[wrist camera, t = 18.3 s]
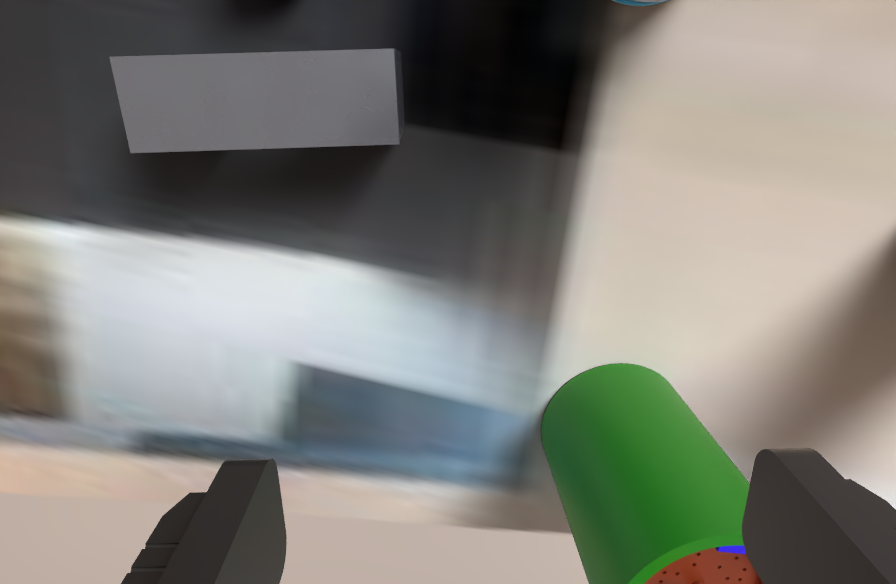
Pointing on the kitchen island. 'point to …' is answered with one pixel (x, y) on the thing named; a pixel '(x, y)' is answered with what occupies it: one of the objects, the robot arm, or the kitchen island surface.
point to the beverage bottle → (639, 2)
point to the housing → (261, 100)
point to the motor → (644, 482)
